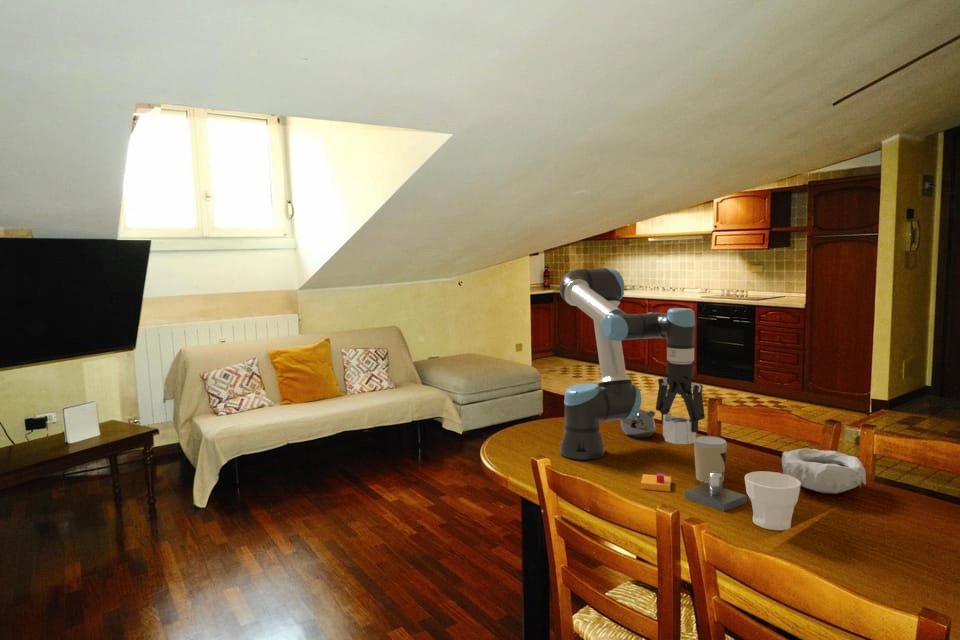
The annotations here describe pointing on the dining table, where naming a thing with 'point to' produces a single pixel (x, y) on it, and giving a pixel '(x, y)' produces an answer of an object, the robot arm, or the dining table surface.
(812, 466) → the bowl
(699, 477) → the coffee cup
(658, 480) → the push button box
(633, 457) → the dining table surface
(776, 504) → the cup
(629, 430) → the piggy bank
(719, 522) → the dining table surface
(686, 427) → the block
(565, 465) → the dining table surface
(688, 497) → the shaft block
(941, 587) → the dining table surface
